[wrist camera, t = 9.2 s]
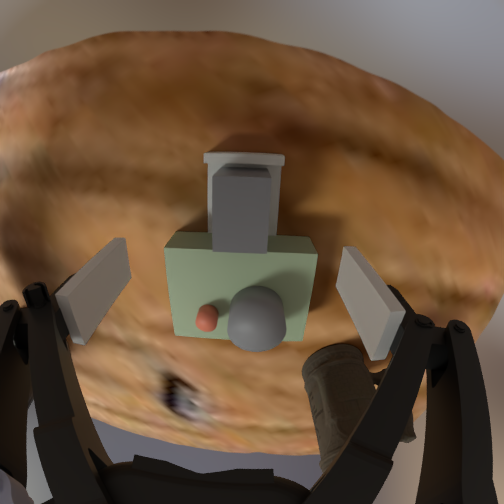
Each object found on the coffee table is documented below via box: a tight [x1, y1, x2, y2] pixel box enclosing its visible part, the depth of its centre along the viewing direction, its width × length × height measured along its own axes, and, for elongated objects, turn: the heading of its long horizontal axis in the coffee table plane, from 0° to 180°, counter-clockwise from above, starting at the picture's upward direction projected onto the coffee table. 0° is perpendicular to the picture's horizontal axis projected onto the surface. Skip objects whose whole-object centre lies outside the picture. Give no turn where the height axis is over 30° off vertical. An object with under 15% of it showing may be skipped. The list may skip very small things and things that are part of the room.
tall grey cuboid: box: [212, 167, 272, 254], centre depth 27 cm, size 5×7×7 cm
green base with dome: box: [164, 152, 318, 352], centre depth 29 cm, size 16×22×9 cm
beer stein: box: [302, 344, 416, 473], centre depth 33 cm, size 15×11×20 cm
